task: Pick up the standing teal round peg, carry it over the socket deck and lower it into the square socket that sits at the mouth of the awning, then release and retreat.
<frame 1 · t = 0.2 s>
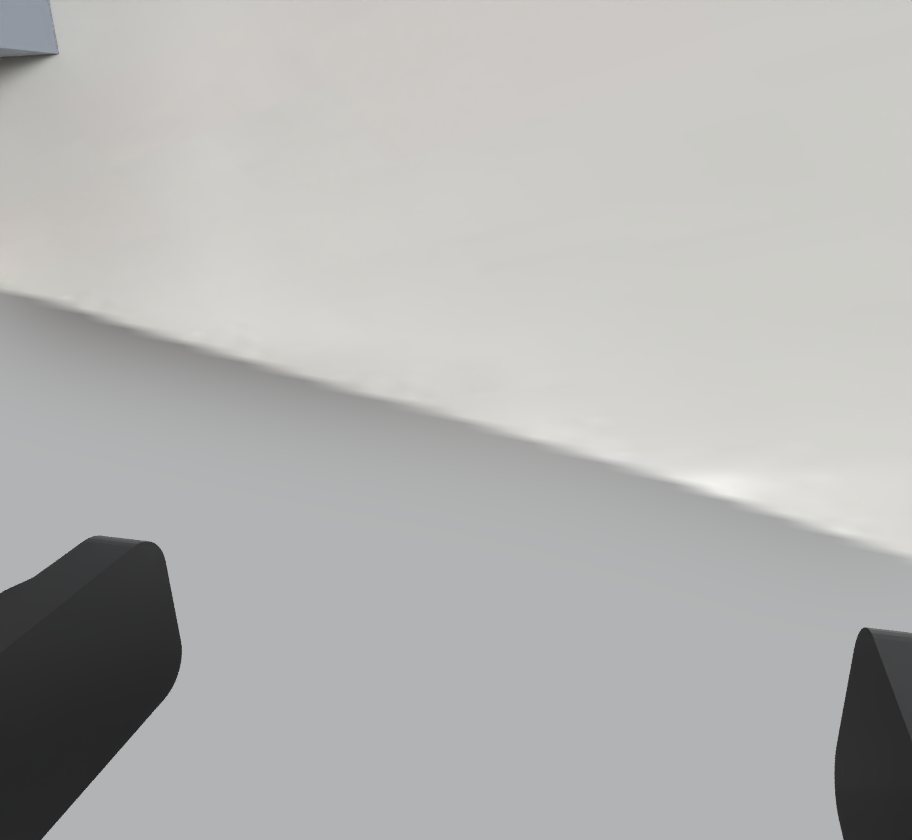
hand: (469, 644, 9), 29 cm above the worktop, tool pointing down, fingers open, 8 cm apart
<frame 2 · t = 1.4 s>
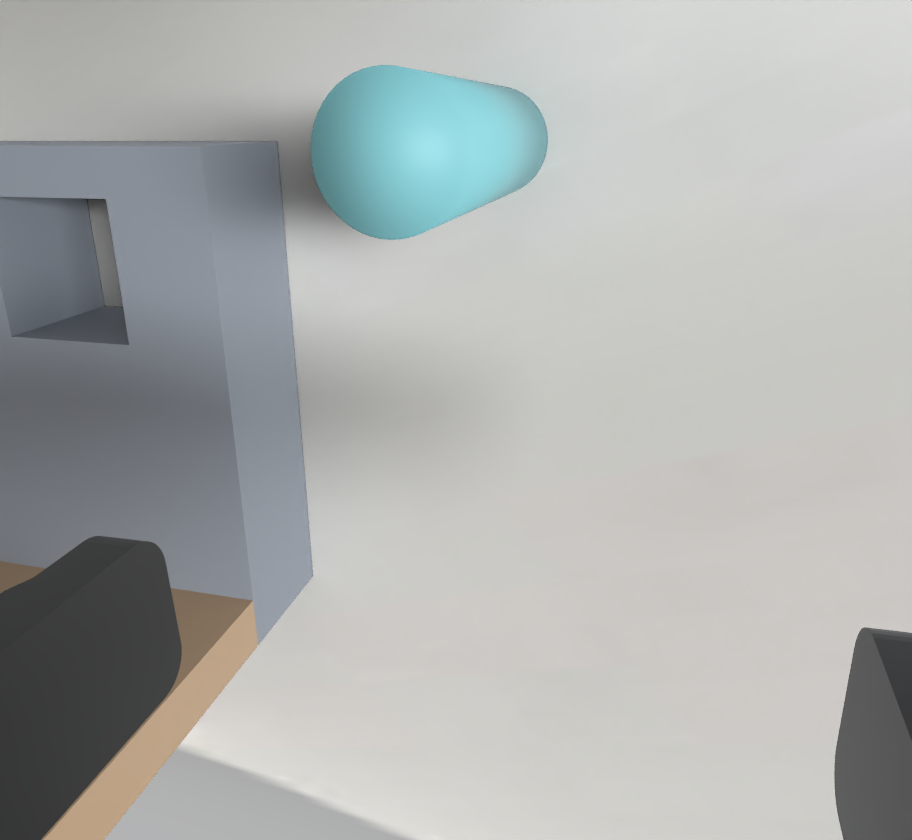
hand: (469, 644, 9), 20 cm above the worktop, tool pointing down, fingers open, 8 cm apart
peg: (496, 141, 26), on the worktop
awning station: (164, 370, 33), on the worktop
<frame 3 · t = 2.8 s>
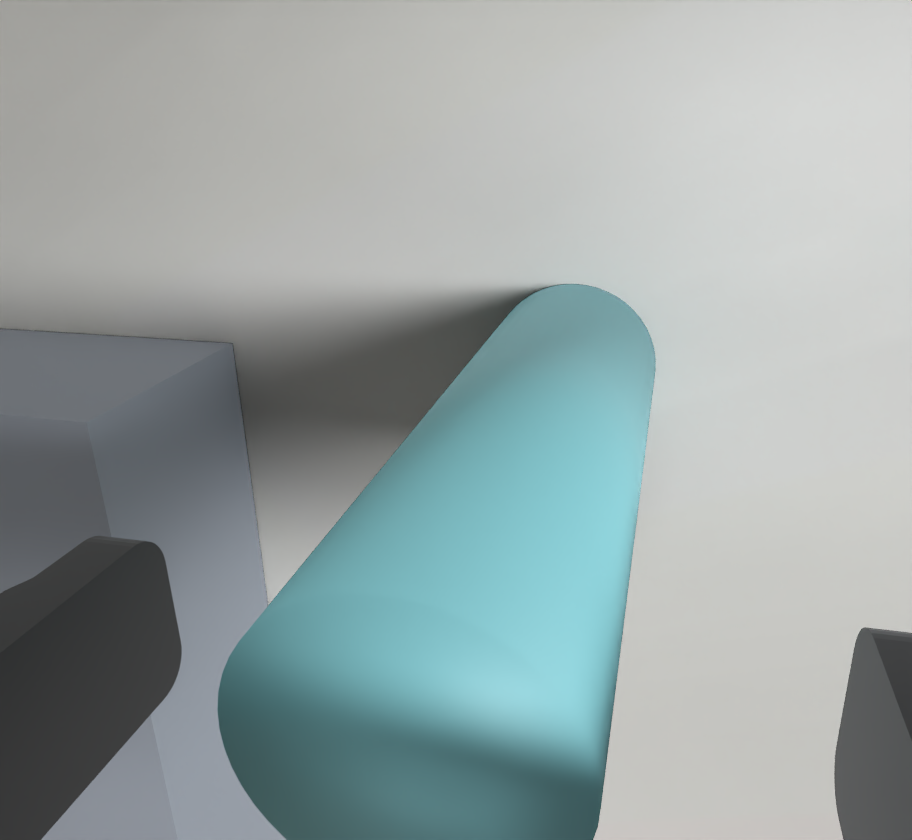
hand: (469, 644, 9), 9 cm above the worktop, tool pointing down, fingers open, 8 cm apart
peg: (572, 364, 16), on the worktop
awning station: (93, 621, 23), on the worktop
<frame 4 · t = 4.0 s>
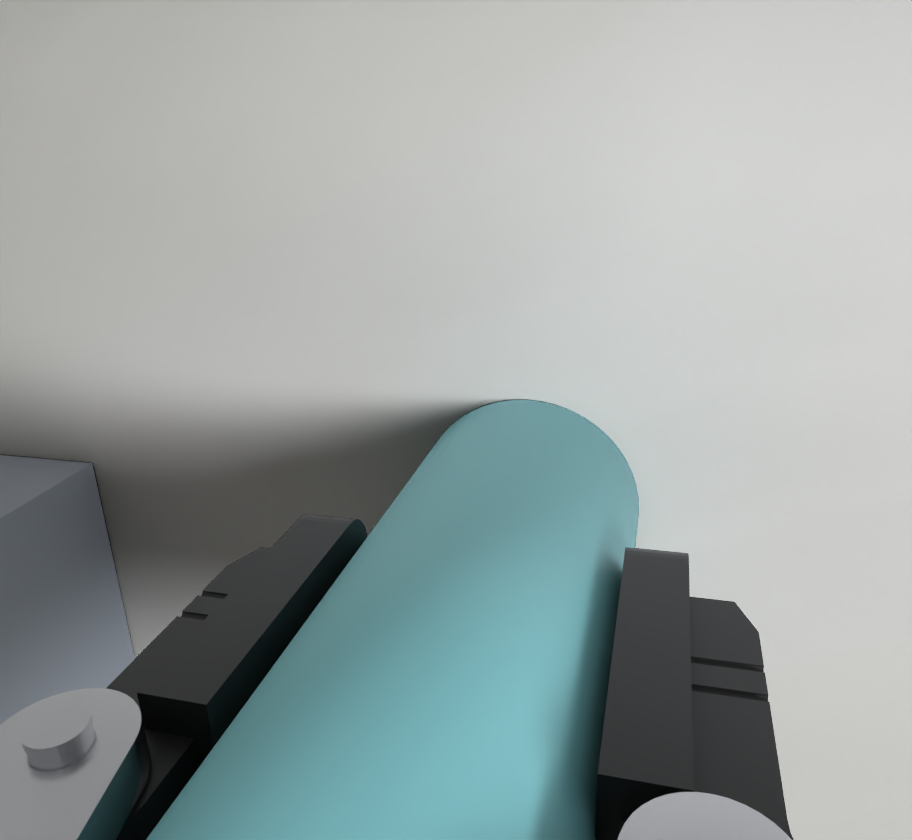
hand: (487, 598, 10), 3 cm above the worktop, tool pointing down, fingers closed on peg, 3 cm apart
peg: (527, 502, 12), on the worktop, touching gripper
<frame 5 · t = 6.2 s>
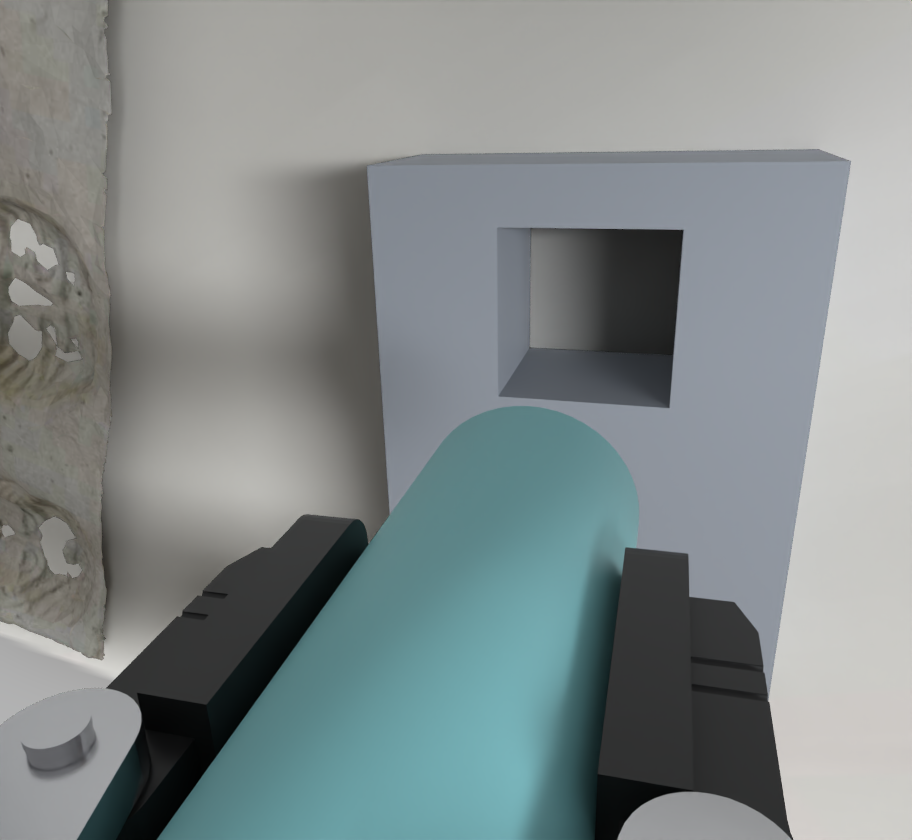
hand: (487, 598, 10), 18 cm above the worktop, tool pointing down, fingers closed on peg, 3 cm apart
peg: (528, 507, 12), point 15 cm above the worktop, touching gripper
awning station: (596, 422, 27), on the worktop
when the fingers open (6 cm above the worktop, at t = 8.4 s): peg drops 3 cm, resting in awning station.
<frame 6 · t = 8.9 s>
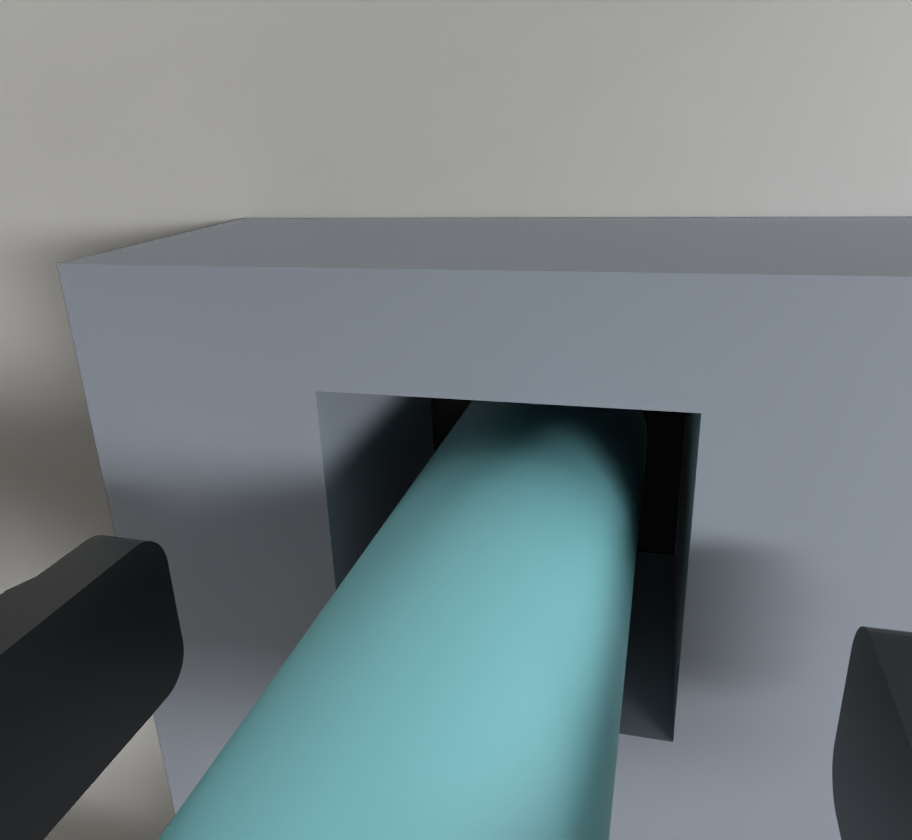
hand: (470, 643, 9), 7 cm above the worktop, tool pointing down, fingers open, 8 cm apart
peg: (555, 436, 15), resting in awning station
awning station: (550, 649, 17), on the worktop
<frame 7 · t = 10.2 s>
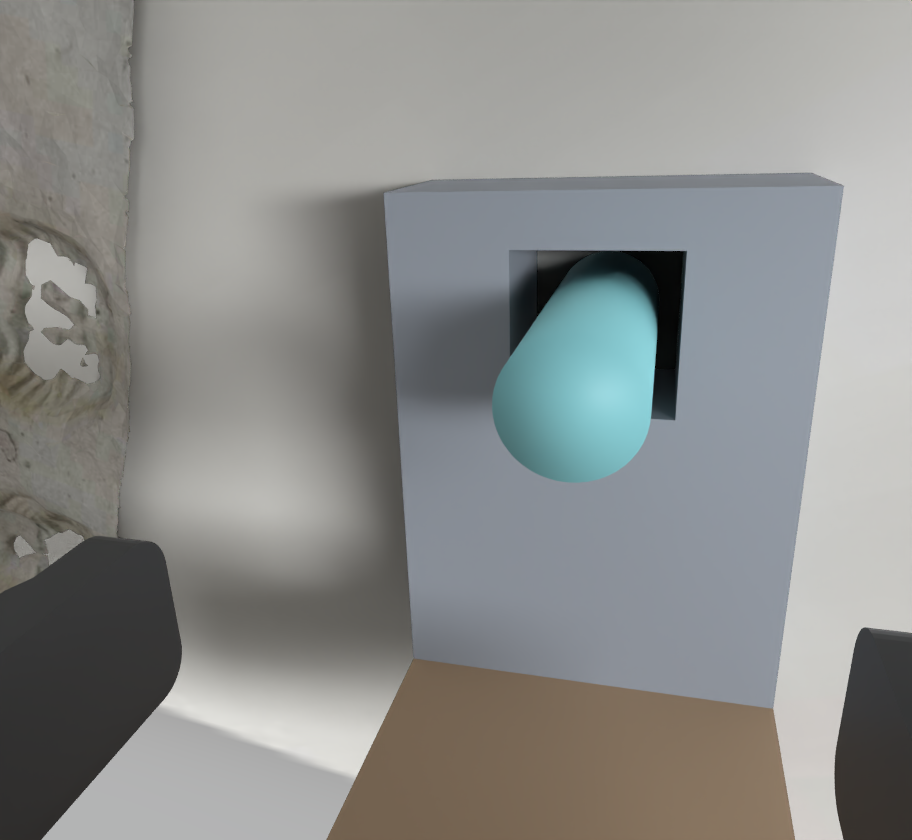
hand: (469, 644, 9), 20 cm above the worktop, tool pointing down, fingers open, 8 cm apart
peg: (608, 301, 27), resting in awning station
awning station: (602, 435, 28), on the worktop
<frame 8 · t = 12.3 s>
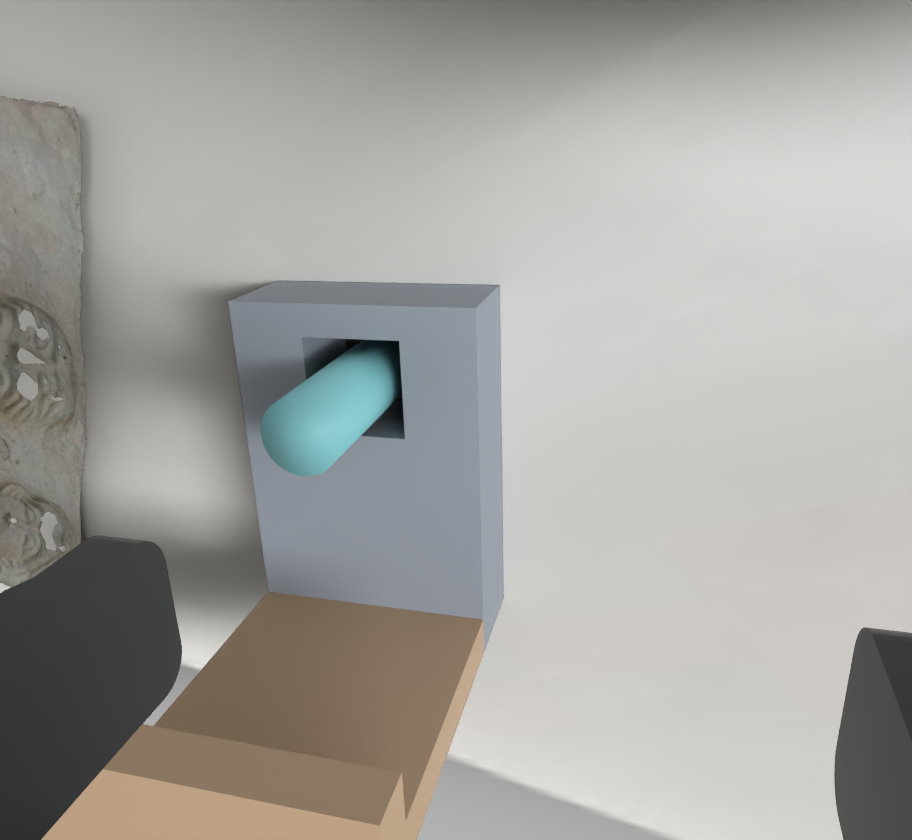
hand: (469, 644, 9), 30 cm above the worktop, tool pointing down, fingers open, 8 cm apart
peg: (390, 359, 41), resting in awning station
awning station: (394, 445, 43), on the worktop
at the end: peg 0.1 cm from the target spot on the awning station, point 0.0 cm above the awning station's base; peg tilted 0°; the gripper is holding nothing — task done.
